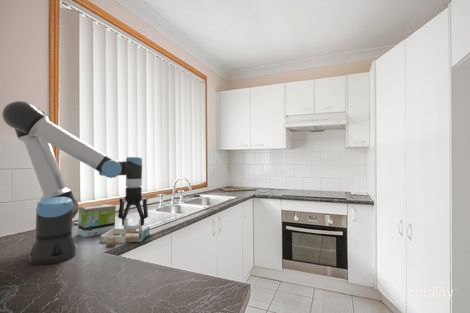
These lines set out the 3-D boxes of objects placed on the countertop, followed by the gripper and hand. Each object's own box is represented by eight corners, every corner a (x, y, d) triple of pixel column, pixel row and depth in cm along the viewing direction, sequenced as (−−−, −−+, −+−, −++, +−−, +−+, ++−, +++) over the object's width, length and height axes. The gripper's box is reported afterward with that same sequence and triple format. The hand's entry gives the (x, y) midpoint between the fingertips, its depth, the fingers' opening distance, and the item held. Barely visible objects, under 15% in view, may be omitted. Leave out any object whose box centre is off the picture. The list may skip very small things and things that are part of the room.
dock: (125, 242, 115) (125, 236, 115) (99, 242, 115) (99, 236, 115) (136, 234, 129) (136, 228, 129) (113, 233, 129) (113, 228, 129)
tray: (140, 242, 116) (140, 233, 116) (114, 241, 116) (115, 233, 116) (149, 234, 129) (149, 226, 129) (126, 233, 128) (126, 226, 129)
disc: (137, 229, 119) (137, 226, 119) (123, 229, 119) (123, 226, 119) (142, 226, 126) (142, 223, 126) (129, 226, 126) (129, 223, 126)
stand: (112, 247, 109) (112, 239, 109) (104, 246, 109) (105, 239, 109) (116, 244, 113) (116, 236, 113) (108, 244, 113) (109, 236, 113)
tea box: (85, 238, 121) (86, 208, 121) (77, 234, 127) (78, 206, 127) (115, 231, 133) (116, 205, 133) (106, 228, 139) (107, 202, 139)
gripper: (155, 186, 127) (154, 229, 126) (117, 185, 126) (116, 229, 126) (150, 187, 119) (149, 234, 119) (110, 187, 119) (109, 234, 118)
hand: (133, 231), depth 122 cm, fingers closed on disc, 7 cm apart
